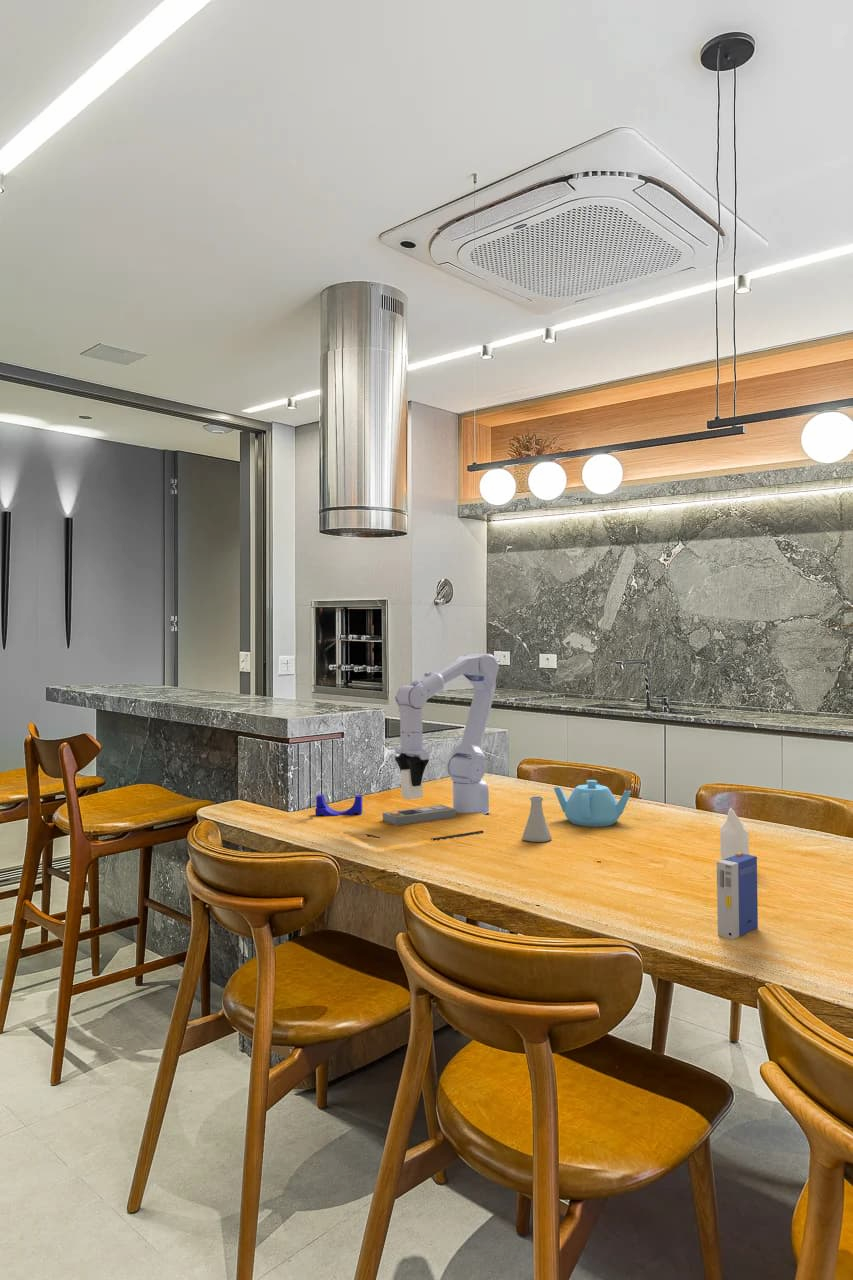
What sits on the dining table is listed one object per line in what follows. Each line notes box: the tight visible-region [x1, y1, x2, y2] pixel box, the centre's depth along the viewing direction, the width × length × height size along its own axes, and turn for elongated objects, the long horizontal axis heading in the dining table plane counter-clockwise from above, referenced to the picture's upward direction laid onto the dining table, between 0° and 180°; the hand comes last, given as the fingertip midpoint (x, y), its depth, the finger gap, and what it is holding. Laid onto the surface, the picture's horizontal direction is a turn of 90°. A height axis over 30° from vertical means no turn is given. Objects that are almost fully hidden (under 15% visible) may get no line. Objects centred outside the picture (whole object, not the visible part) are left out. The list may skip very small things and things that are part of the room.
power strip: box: [382, 804, 457, 826], centre depth 213 cm, size 18×7×3 cm, turn 121°
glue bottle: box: [719, 807, 750, 860], centre depth 168 cm, size 6×12×6 cm
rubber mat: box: [431, 830, 484, 841], centre depth 201 cm, size 14×10×1 cm
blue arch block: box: [315, 794, 363, 817], centre depth 220 cm, size 12×4×6 cm, turn 87°
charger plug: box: [400, 769, 424, 800], centre depth 211 cm, size 4×4×7 cm
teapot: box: [553, 779, 632, 828], centre depth 212 cm, size 15×15×11 cm
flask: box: [522, 795, 553, 843], centre depth 194 cm, size 7×7×10 cm
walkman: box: [716, 852, 759, 941], centre depth 131 cm, size 8×3×12 cm, turn 130°
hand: (412, 784), depth 211 cm, fingers closed on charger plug, 4 cm apart
